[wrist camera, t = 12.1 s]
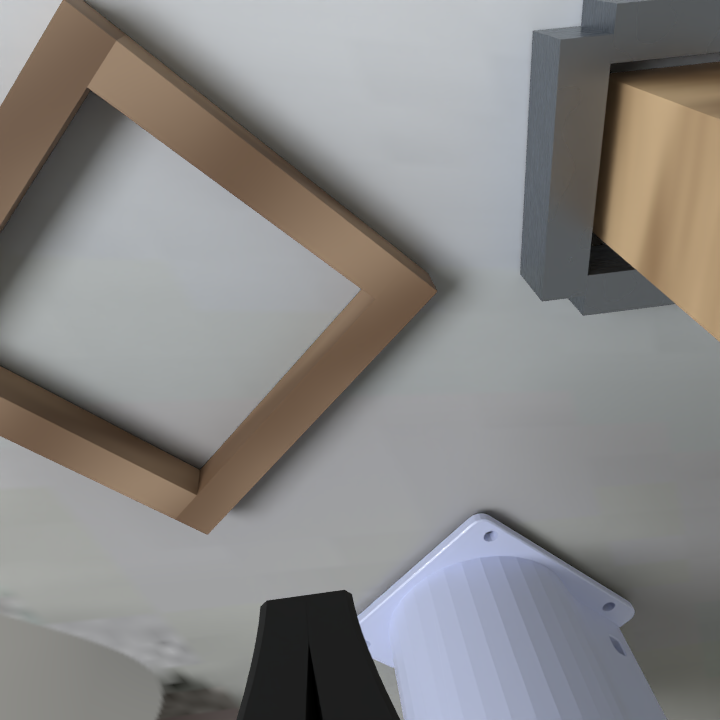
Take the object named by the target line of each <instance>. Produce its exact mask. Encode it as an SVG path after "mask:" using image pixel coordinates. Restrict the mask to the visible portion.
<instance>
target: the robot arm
mask: <svg viewBox="0 0 720 720" xmlns="http://www.w3.org/2000/svg"><path fill="white" fill-rule="evenodd" d="M489 531H492V532H491V533H487V532H489ZM486 533H487V534H486ZM634 614H635V610H634V608H633V606H632V604H631V603H630V602H629V601H627V600H626V599H624V598H622V597H621V596H619V595H618V594H616V593H614V592H613V591H611V590H609V589H608V588H606V587H605V586H603V585H601V584H600V583H598V582H596V581H595V580H593V579H592V578H590V577H588V576H587V575H585V574H583V573H582V572H580V571H579V570H577V569H575V568H574V567H572V566H570V565H569V564H567V563H566V562H564V561H562V560H561V559H559V558H557V557H556V556H554V555H553V554H551V553H549V552H548V551H546V550H545V549H543V548H541V547H540V546H538V545H536V544H535V543H533V542H532V541H530V540H528V539H527V538H525V537H523V536H522V535H520V534H519V533H517V532H515V531H514V530H512V529H510V528H509V527H507V526H506V525H504V524H502V523H501V522H499V521H497V520H496V519H494V518H493V517H491V516H489V515H487V514H484V513H478V514H475V515H473V516H471V517H470V518H468V519H467V520H466V521H465V522H464V523H463V524H462V525H460V526H459V527H458V528H457V529H456V530H455V531H454V532H453V533H451V534H450V535H449V536H448V537H447V538H446V539H445V540H443V541H442V542H441V543H440V544H439V545H438V546H437V547H435V548H434V549H433V550H432V551H431V552H430V553H429V554H428V555H426V556H425V557H424V558H423V559H422V560H421V561H420V562H418V563H417V564H416V565H415V566H414V567H413V568H412V569H411V570H409V571H408V572H407V573H406V574H405V575H404V576H403V577H401V578H400V579H399V580H398V581H397V582H396V583H395V584H393V585H392V586H391V587H390V588H389V589H388V590H387V591H386V592H384V593H383V594H382V595H381V596H380V597H379V598H378V599H376V600H375V601H374V602H373V603H372V604H371V605H370V606H369V607H367V608H366V609H365V610H364V611H363V612H362V613H361V614H359V615H358V616H357V614H356V610H355V606H354V602H353V598H352V594H351V593H349V592H347V591H346V590H340V591H333V592H326V593H319V594H312V595H304V596H297V597H290V598H283V599H276V600H268V601H266V602H265V603H264V604H263V605H262V606H261V607H260V617H259V625H258V632H257V638H256V643H255V649H254V654H253V658H252V663H251V667H250V671H249V675H248V679H247V684H246V688H245V692H244V696H243V699H242V702H241V706H240V709H239V713H238V716H237V720H400V718H399V716H398V714H397V712H396V710H395V708H394V706H393V704H392V702H391V700H390V698H389V696H388V694H387V692H386V689H385V687H384V685H383V683H382V680H381V678H380V676H379V674H378V671H377V669H376V666H375V664H374V661H373V659H375V660H377V661H379V662H382V663H384V664H386V665H388V666H391V667H393V668H395V673H396V678H397V684H398V689H399V695H400V700H401V706H402V711H403V717H404V720H667V718H666V716H665V714H664V712H663V710H662V709H661V707H660V705H659V703H658V701H657V699H656V697H655V695H654V693H653V691H652V689H651V688H650V686H649V684H648V682H647V680H646V678H645V676H644V674H643V672H642V670H641V668H640V667H639V665H638V663H637V661H636V659H635V657H634V655H633V653H632V651H631V649H630V648H629V646H628V644H627V642H626V640H625V638H624V636H623V634H622V632H621V630H620V628H619V627H621V626H622V625H623V624H625V623H626V622H628V621H629V620H630V619H631V618H632V617H633V616H634Z"/></svg>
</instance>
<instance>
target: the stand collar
mask: <svg viewBox="0 0 720 720" xmlns="http://www.w3.org/2000/svg"><path fill="white" fill-rule="evenodd" d="M90 91H93V92H94V93H96V94H97V95H98V96H100V97H101V98H102V99H104V100H105V101H106V102H108V103H109V104H111V105H112V106H113V107H115V108H116V109H117V110H119V111H120V112H121V113H123V114H124V115H125V116H127V117H128V118H130V119H131V120H132V121H134V122H135V123H136V124H138V125H139V126H140V127H142V128H143V129H145V130H146V131H147V132H149V133H150V134H151V135H153V136H154V137H155V138H157V139H158V140H159V141H161V142H162V143H164V144H165V145H166V146H168V147H169V148H170V149H172V150H173V151H174V152H176V153H177V154H179V155H180V156H181V157H183V158H184V159H185V160H187V161H188V162H189V163H191V164H192V165H193V166H195V167H196V168H198V169H199V170H200V171H202V172H203V173H204V174H206V175H207V176H208V177H210V178H211V179H212V180H214V181H215V182H217V183H218V184H219V185H221V186H222V187H223V188H225V189H226V190H227V191H229V192H230V193H232V194H233V195H234V196H236V197H237V198H238V199H240V200H241V201H242V202H244V203H245V204H246V205H248V206H249V207H251V208H252V209H253V210H255V211H256V212H257V213H259V214H260V215H261V216H263V217H264V218H266V219H267V220H268V221H270V222H271V223H272V224H274V225H275V226H276V227H278V228H279V229H280V230H282V231H283V232H285V233H286V234H287V235H289V236H290V237H291V238H293V239H294V240H295V241H297V242H298V243H300V244H301V245H302V246H304V247H305V248H306V249H308V250H309V251H310V252H312V253H313V254H314V255H316V256H317V257H319V258H320V259H321V260H323V261H324V262H325V263H327V264H328V265H329V266H331V267H332V268H334V269H335V270H336V271H338V272H339V273H340V274H342V275H343V276H344V277H346V278H347V279H348V280H350V281H351V282H353V283H354V284H355V285H357V286H358V287H359V288H361V290H360V292H359V293H358V294H357V295H356V296H355V297H354V298H353V299H352V300H351V302H350V303H349V304H348V305H347V306H346V307H345V308H344V309H343V311H342V312H341V313H340V314H339V315H338V316H337V317H336V318H335V319H334V321H333V322H332V323H331V324H330V325H329V326H328V327H327V328H326V330H325V331H324V332H323V333H322V334H321V335H320V336H319V337H318V339H317V340H316V341H315V342H314V343H313V344H312V345H311V346H310V347H309V349H308V350H307V351H306V352H305V353H304V354H303V355H302V356H301V358H300V359H299V360H298V361H297V362H296V363H295V364H294V365H293V366H292V368H291V369H290V370H289V371H288V372H287V373H286V374H285V375H284V377H283V378H282V379H281V380H280V381H279V382H278V383H277V384H276V385H275V387H274V388H273V389H272V390H271V391H270V392H269V393H268V394H267V396H266V397H265V398H264V399H263V400H262V401H261V402H260V403H259V404H258V406H257V407H256V408H255V409H254V410H253V411H252V412H251V413H250V415H249V416H248V417H247V418H246V419H245V420H244V421H243V422H242V423H241V425H240V426H239V427H238V428H237V429H236V430H235V431H234V432H233V434H232V435H231V436H230V437H229V438H228V439H227V440H226V441H225V443H224V444H223V445H222V446H221V447H220V448H219V449H218V450H217V451H216V453H215V454H214V455H213V456H212V457H211V458H210V459H209V460H208V462H207V463H206V464H205V465H204V466H203V467H202V468H201V469H200V470H199V469H197V468H195V467H193V466H191V465H189V464H187V463H185V462H183V461H182V460H180V459H178V458H176V457H174V456H172V455H170V454H168V453H166V452H164V451H162V450H160V449H159V448H157V447H155V446H153V445H151V444H149V443H147V442H145V441H143V440H141V439H139V438H137V437H136V436H134V435H132V434H130V433H128V432H126V431H124V430H122V429H120V428H118V427H116V426H114V425H112V424H111V423H109V422H107V421H105V420H103V419H101V418H99V417H97V416H95V415H93V414H91V413H89V412H88V411H86V410H84V409H82V408H80V407H78V406H76V405H74V404H72V403H70V402H68V401H66V400H64V399H63V398H61V397H59V396H57V395H55V394H53V393H51V392H49V391H47V390H45V389H43V388H41V387H40V386H38V385H36V384H34V383H32V382H30V381H28V380H26V379H24V378H22V377H20V376H18V375H16V374H15V373H13V372H11V371H9V370H7V369H5V368H3V367H1V366H0V436H2V437H4V438H6V439H8V440H10V441H12V442H14V443H16V444H18V445H20V446H22V447H25V448H27V449H29V450H31V451H33V452H35V453H37V454H39V455H41V456H43V457H46V458H48V459H50V460H52V461H54V462H56V463H58V464H60V465H62V466H64V467H66V468H69V469H71V470H73V471H75V472H77V473H79V474H81V475H83V476H85V477H87V478H90V479H92V480H94V481H96V482H98V483H100V484H102V485H104V486H106V487H108V488H110V489H113V490H115V491H117V492H119V493H121V494H123V495H125V496H127V497H129V498H131V499H134V500H136V501H138V502H140V503H142V504H144V505H146V506H148V507H150V508H152V509H154V510H157V511H159V512H161V513H163V514H165V515H167V516H169V517H171V518H173V519H175V520H178V521H180V522H182V523H184V524H186V525H188V526H190V527H192V528H194V529H196V530H198V531H201V532H203V533H205V534H207V535H208V534H209V533H210V532H211V530H212V529H213V528H214V527H215V526H216V525H217V524H218V523H219V522H220V521H221V520H222V519H223V518H224V517H225V516H226V515H227V514H228V512H229V511H230V510H231V509H232V508H233V507H234V506H235V505H236V504H237V503H238V502H239V501H240V500H241V499H242V498H243V497H244V496H245V495H246V493H247V492H248V491H249V490H250V489H251V488H252V487H253V486H254V485H255V484H256V483H257V482H258V481H259V480H260V479H261V478H262V477H263V475H264V474H265V473H266V472H267V471H268V470H269V469H270V468H271V467H272V466H273V465H274V464H275V463H276V462H277V461H278V460H279V459H280V457H281V456H282V455H283V454H284V453H285V452H286V451H287V450H288V449H289V448H290V447H291V446H292V445H293V444H294V443H295V442H296V441H297V440H298V438H299V437H300V436H301V435H302V434H303V433H304V432H305V431H306V430H307V429H308V428H309V427H310V426H311V425H312V424H313V423H314V422H315V420H316V419H317V418H318V417H319V416H320V415H321V414H322V413H323V412H324V411H325V410H326V409H327V408H328V407H329V406H330V405H331V404H332V402H333V401H334V400H335V399H336V398H337V397H338V396H339V395H340V394H341V393H342V392H343V391H344V390H345V389H346V388H347V387H348V386H349V385H350V383H351V382H352V381H353V380H354V379H355V378H356V377H357V376H358V375H359V374H360V373H361V372H362V371H363V370H364V369H365V368H366V367H367V365H368V364H369V363H370V362H371V361H372V360H373V359H374V358H375V357H376V356H377V355H378V354H379V353H380V352H381V351H382V350H383V349H384V347H385V346H386V345H387V344H388V343H389V342H390V341H391V340H392V339H393V338H394V337H395V336H396V335H397V334H398V333H399V332H400V331H401V330H402V328H403V327H404V326H405V325H406V324H407V323H408V322H409V321H410V320H411V319H412V318H413V317H414V316H415V315H416V314H417V313H418V312H419V310H420V309H421V308H422V307H423V306H424V305H425V304H426V303H427V302H428V301H429V300H430V299H431V298H432V297H433V296H434V295H435V294H436V292H437V290H436V288H435V286H434V284H433V282H432V280H431V278H430V276H429V274H428V273H427V272H426V271H425V270H423V269H422V268H421V267H419V266H418V265H417V264H416V263H414V262H413V261H412V260H411V259H409V258H408V257H407V256H406V255H404V254H403V253H402V252H401V251H399V250H398V249H397V248H395V247H394V246H393V245H392V244H390V243H389V242H388V241H387V240H385V239H384V238H383V237H382V236H380V235H379V234H378V233H376V232H375V231H374V230H373V229H371V228H370V227H369V226H368V225H366V224H365V223H364V222H363V221H361V220H360V219H359V218H358V217H356V216H355V215H354V214H352V213H351V212H350V211H349V210H347V209H346V208H345V207H344V206H342V205H341V204H340V203H339V202H337V201H336V200H335V199H333V198H332V197H331V196H330V195H328V194H327V193H326V192H325V191H323V190H322V189H321V188H320V187H318V186H317V185H316V184H315V183H313V182H312V181H311V180H309V179H308V178H307V177H306V176H304V175H303V174H302V173H301V172H299V171H298V170H297V169H296V168H294V167H293V166H292V165H290V164H289V163H288V162H287V161H285V160H284V159H283V158H282V157H280V156H279V155H278V154H277V153H275V152H274V151H273V150H272V149H270V148H269V147H268V146H266V145H265V144H264V143H263V142H261V141H260V140H259V139H258V138H256V137H255V136H254V135H253V134H251V133H250V132H249V131H247V130H246V129H245V128H244V127H242V126H241V125H240V124H239V123H237V122H236V121H235V120H234V119H232V118H231V117H230V116H229V115H227V114H226V113H225V112H223V111H222V110H221V109H220V108H218V107H217V106H216V105H215V104H213V103H212V102H211V101H210V100H208V99H207V98H206V97H204V96H203V95H202V94H201V93H199V92H198V91H197V90H196V89H194V88H193V87H192V86H191V85H189V84H188V83H187V82H186V81H184V80H183V79H182V78H180V77H179V76H178V75H177V74H175V73H174V72H173V71H172V70H170V69H169V68H168V67H167V66H165V65H164V64H163V63H161V62H160V61H159V60H158V59H156V58H155V57H154V56H153V55H151V54H150V53H149V52H148V51H146V50H145V49H144V48H143V47H141V46H140V45H139V44H137V43H136V42H135V41H134V40H132V39H131V38H130V37H129V36H127V35H126V34H125V33H124V32H122V31H121V30H120V29H118V28H117V27H116V26H115V25H113V24H112V23H111V22H110V21H108V20H107V19H106V18H105V17H103V16H102V15H101V14H100V13H98V12H97V11H96V10H94V9H93V8H92V7H91V6H89V5H88V4H87V3H86V2H84V1H83V0H63V1H62V2H61V4H60V6H59V8H58V9H57V11H56V13H55V14H54V16H53V18H52V19H51V21H50V23H49V25H48V26H47V28H46V30H45V31H44V33H43V35H42V37H41V38H40V40H39V42H38V43H37V45H36V47H35V48H34V50H33V52H32V54H31V55H30V57H29V59H28V60H27V62H26V64H25V65H24V67H23V69H22V71H21V72H20V74H19V76H18V77H17V79H16V81H15V83H14V84H13V86H12V88H11V89H10V91H9V93H8V94H7V96H6V98H5V100H4V101H3V103H2V105H1V106H0V233H1V231H2V230H3V228H4V226H5V225H6V223H7V222H8V220H9V219H10V217H11V215H12V214H13V212H14V211H15V209H16V207H17V206H18V204H19V203H20V201H21V200H22V198H23V196H24V195H25V193H26V192H27V190H28V189H29V187H30V185H31V184H32V182H33V181H34V179H35V178H36V176H37V174H38V173H39V171H40V170H41V168H42V166H43V165H44V163H45V162H46V160H47V159H48V157H49V155H50V154H51V152H52V151H53V149H54V148H55V146H56V144H57V143H58V141H59V140H60V138H61V136H62V135H63V133H64V132H65V130H66V129H67V127H68V125H69V124H70V122H71V121H72V119H73V118H74V116H75V114H76V113H77V111H78V110H79V108H80V106H81V105H82V103H83V102H84V100H85V99H86V97H87V95H88V94H89V92H90Z"/></svg>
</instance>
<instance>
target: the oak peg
mask: <svg viewBox="0 0 720 720" xmlns="http://www.w3.org/2000/svg"><path fill="white" fill-rule="evenodd" d="M592 232H593V233H594V234H595V235H596V236H598V237H599V238H600V239H601V240H602V241H603V242H605V243H606V244H607V245H608V246H609V247H610V248H612V249H613V250H614V251H615V252H616V253H617V254H619V255H620V256H621V257H622V258H623V259H624V260H625V261H627V262H628V263H629V264H630V265H631V266H632V267H634V268H635V269H636V270H637V271H638V272H639V273H641V274H642V275H643V276H644V277H645V278H646V279H648V280H649V281H650V282H651V283H652V284H653V285H654V286H656V287H657V288H658V289H659V290H660V291H661V292H663V293H664V294H665V295H666V296H667V297H668V298H670V299H671V300H672V301H673V302H674V303H675V304H676V305H678V306H679V307H680V308H681V309H682V310H683V311H685V312H686V313H687V314H688V315H689V316H690V317H692V318H693V319H694V320H695V321H696V322H697V323H699V324H700V325H701V326H702V327H703V328H704V329H705V330H707V331H708V332H709V333H710V334H711V335H712V336H714V337H715V338H716V339H717V340H718V341H719V342H720V62H712V63H702V64H693V65H683V66H674V67H664V68H655V69H646V70H636V71H627V72H617V73H609V83H608V92H607V101H606V110H605V120H604V129H603V138H602V147H601V156H600V166H599V175H598V184H597V193H596V203H595V212H594V221H593V230H592Z"/></svg>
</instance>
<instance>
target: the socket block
mask: <svg viewBox="0 0 720 720" xmlns="http://www.w3.org/2000/svg"><path fill="white" fill-rule="evenodd" d="M718 52H720V0H583V12H582V23H581V26H578V27H568V28H558V29H548V30H538V31H533V40H532V59H531V79H530V98H529V117H528V136H527V156H526V175H525V194H524V213H523V232H522V252H521V271H520V274H521V276H522V277H523V278H524V279H525V281H526V282H527V283H528V284H529V286H530V287H531V288H532V289H533V291H534V292H535V293H536V295H537V296H538V297H539V298H540V300H541V301H549V300H557V299H565V298H568V299H569V300H570V301H571V302H572V303H573V304H574V306H575V307H576V308H577V309H578V310H579V311H580V313H581V314H582V315H583V316H584V315H592V314H600V313H608V312H616V311H624V310H632V309H639V308H647V307H655V306H663V305H671V304H675V303H674V302H673V301H672V300H671V299H670V298H668V297H667V296H666V295H665V294H664V293H663V292H661V291H660V290H659V289H658V288H657V287H656V286H654V285H653V284H652V283H651V282H650V281H649V280H648V279H646V278H645V277H644V276H643V275H642V274H641V273H639V272H638V271H637V270H636V269H635V268H634V267H632V266H631V265H630V264H629V263H628V262H627V261H625V260H624V259H623V258H622V257H621V256H620V255H619V254H617V253H616V252H615V251H614V250H613V249H612V248H610V247H609V246H608V245H598V246H591V239H592V230H593V221H594V212H595V203H596V193H597V184H598V175H599V166H600V156H601V147H602V138H603V129H604V120H605V110H606V101H607V92H608V83H609V73H610V64H612V63H621V62H631V61H641V60H650V59H660V58H670V57H680V56H689V55H699V54H709V53H718Z"/></svg>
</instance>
